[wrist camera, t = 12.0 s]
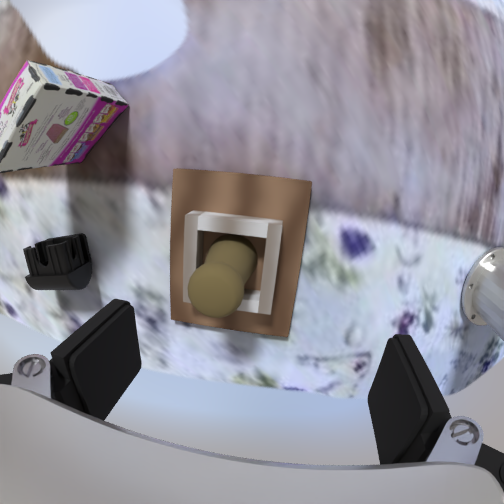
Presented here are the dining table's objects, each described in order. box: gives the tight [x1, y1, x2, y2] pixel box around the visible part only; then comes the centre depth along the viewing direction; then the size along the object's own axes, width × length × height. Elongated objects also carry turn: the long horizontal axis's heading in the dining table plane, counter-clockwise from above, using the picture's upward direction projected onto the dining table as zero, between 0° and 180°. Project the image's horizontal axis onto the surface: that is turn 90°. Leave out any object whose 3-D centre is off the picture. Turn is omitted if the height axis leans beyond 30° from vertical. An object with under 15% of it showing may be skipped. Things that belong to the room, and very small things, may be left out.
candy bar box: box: [0, 60, 129, 173], centre depth 26 cm, size 11×5×16 cm, turn 130°
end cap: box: [23, 233, 92, 290], centre depth 37 cm, size 10×7×7 cm
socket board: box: [170, 169, 312, 337], centre depth 35 cm, size 16×20×4 cm
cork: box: [187, 234, 258, 318], centre depth 31 cm, size 6×6×11 cm
